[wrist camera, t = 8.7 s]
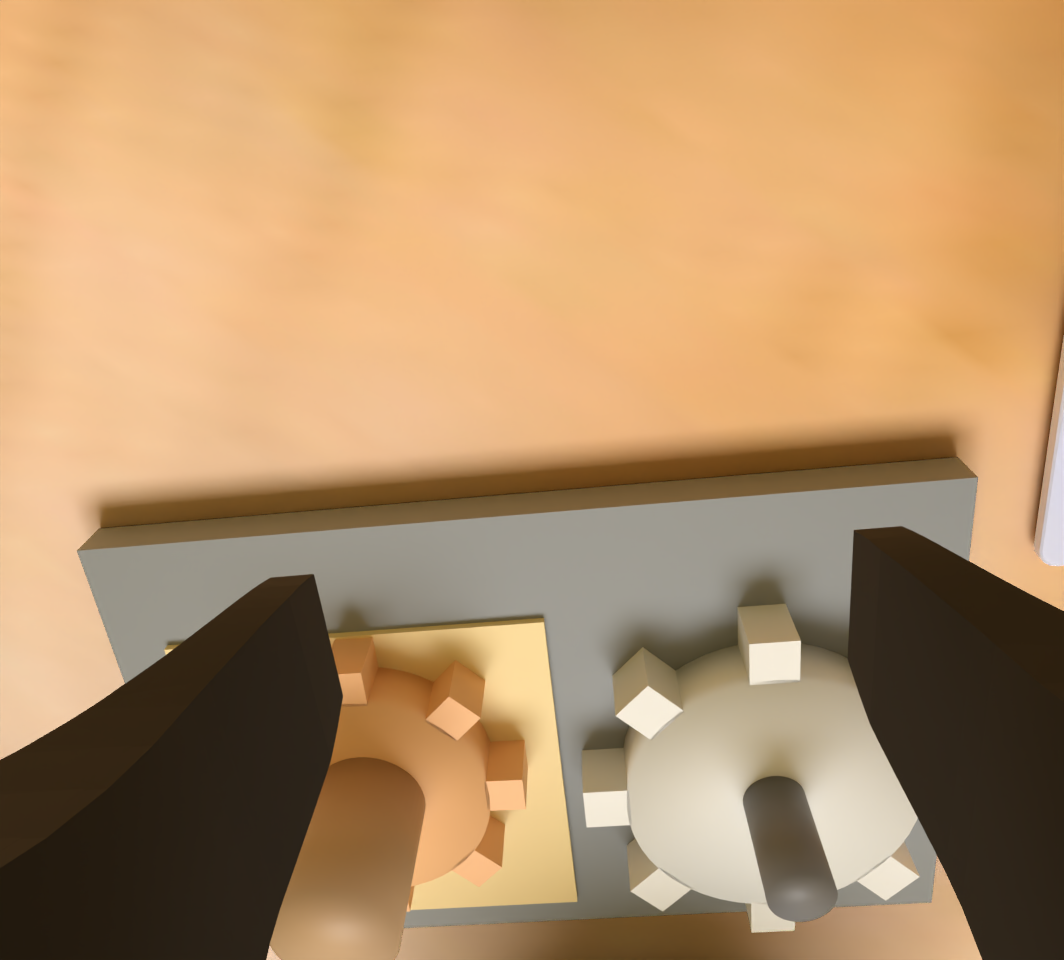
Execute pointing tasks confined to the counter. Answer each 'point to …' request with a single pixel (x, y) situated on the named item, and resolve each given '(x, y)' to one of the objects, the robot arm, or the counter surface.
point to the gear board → (611, 673)
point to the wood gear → (396, 807)
